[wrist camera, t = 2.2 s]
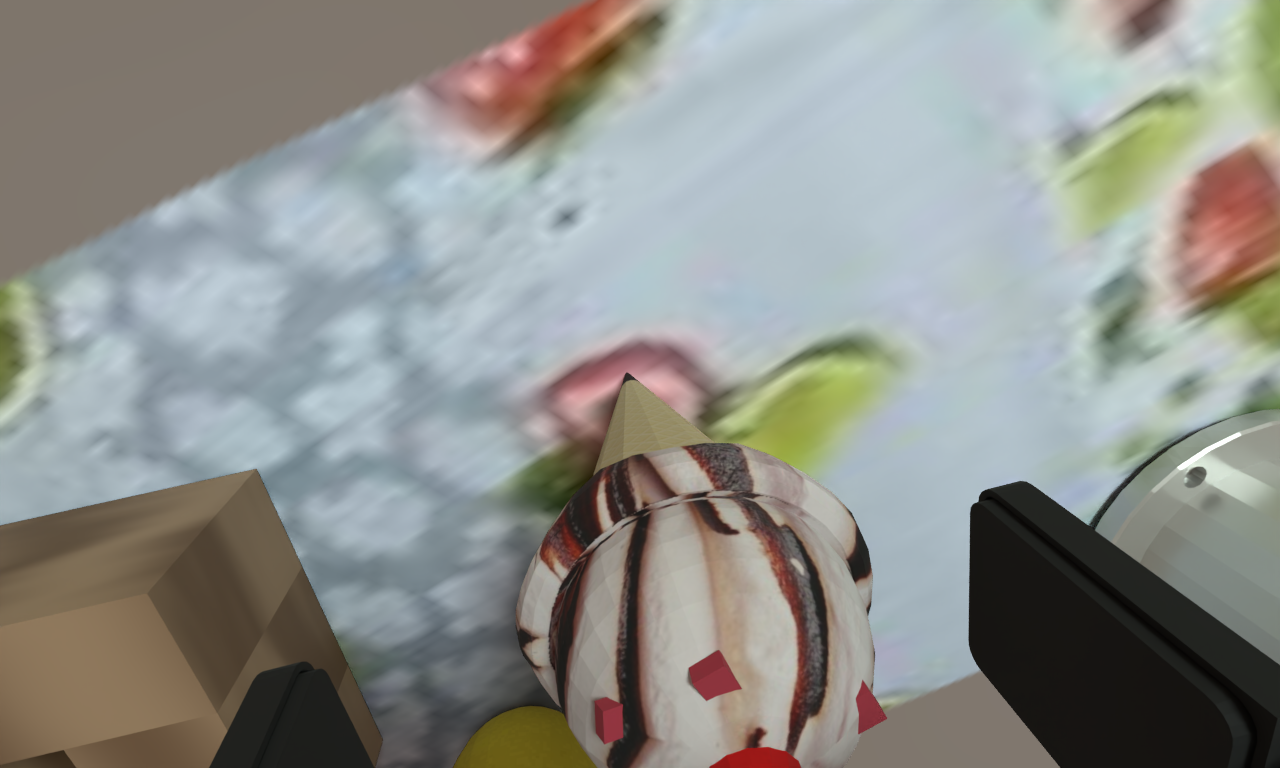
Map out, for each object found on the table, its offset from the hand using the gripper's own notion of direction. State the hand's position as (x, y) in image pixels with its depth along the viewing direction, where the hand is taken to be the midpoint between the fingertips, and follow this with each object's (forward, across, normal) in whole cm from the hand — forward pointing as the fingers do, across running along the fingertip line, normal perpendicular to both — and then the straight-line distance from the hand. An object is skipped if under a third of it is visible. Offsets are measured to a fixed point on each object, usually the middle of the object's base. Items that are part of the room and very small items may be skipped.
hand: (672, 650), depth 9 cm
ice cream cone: (+12, -1, 0) cm, 13 cm away
